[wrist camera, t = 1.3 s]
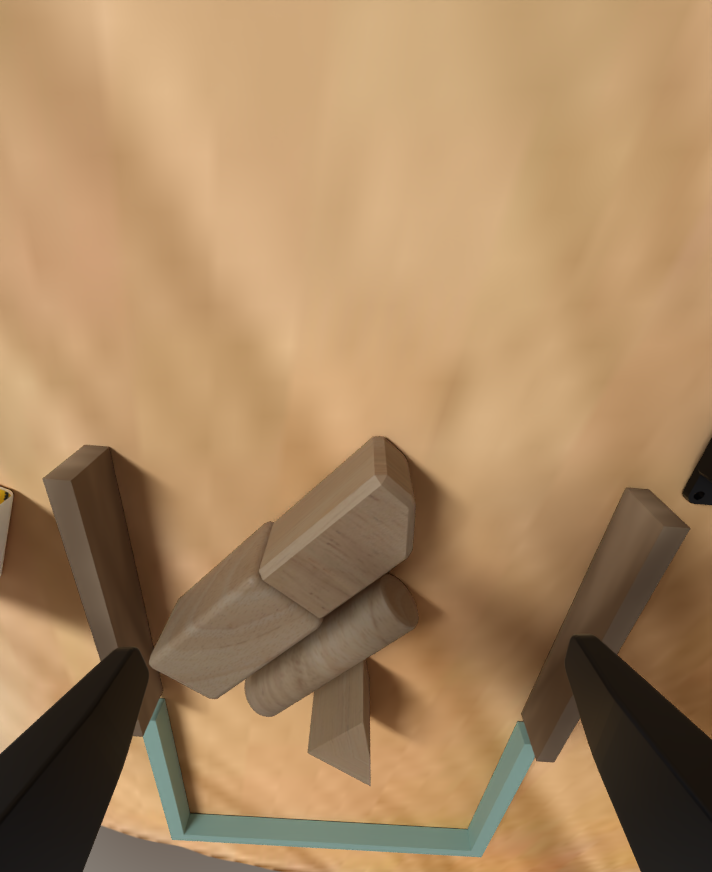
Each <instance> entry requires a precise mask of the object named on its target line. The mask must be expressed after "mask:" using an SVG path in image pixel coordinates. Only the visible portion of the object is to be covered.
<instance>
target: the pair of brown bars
mask: <svg viewBox="0 0 712 872" xmlns="http://www.w3.org/2000/svg"><path fill="white" fill-rule="evenodd" d="M43 482H44V485H45V488H46V491H47V494H48V497H49V501H50V504H51V507H52V510H53V513H54V516H55V519H56V523H57V526H58V529H59V532H60V535H61V538H62V541H63V544H64V548H65V551H66V554H67V557H68V560H69V563H70V566H71V570H72V573H73V576H74V579H75V582H76V585H77V588H78V591H79V595H80V598H81V601H82V604H83V607H84V610H85V613H86V617H87V620H88V623H89V626H90V629H91V632H92V635H93V638H94V642H95V645H96V648H97V651H98V654H99V657H100V660H101V661H102V660H103V659H104V658H105V657H106V656H107V655H109V654H110V653H111V652H112V651H113V650H115V649H116V648H118V647H137V648H139V650H140V652H141V654H142V656H143V658H144V661H145V663H146V665H147V667H148V670H149V681H148V685H147V688H146V692H145V695H144V699H143V702H142V705H141V709H140V712H139V716H138V719H137V723H136V726H135V730H134V733H133V736H139V737H143V736H144V733H145V731H146V729H147V726H148V724H149V722H150V719H151V717H152V715H153V712H154V710H155V708H156V705H157V703H158V701H159V698H160V696H161V694H162V691H163V689H162V684H161V680H160V675H159V671H157V670H155V669H153V668H152V667H151V666H150V665H149V660H150V656H151V654H152V652H153V650H154V648H153V643H152V639H151V634H150V630H149V625H148V621H147V616H146V612H145V607H144V603H143V598H142V594H141V589H140V585H139V580H138V576H137V571H136V567H135V562H134V558H133V553H132V548H131V544H130V539H129V535H128V530H127V526H126V521H125V517H124V512H123V508H122V503H121V499H120V494H119V490H118V485H117V481H116V476H115V472H114V467H113V463H112V458H111V454H110V449H109V447H103V446H90V445H84V446H83V447H81V448H80V449H79V450H78V451H76V452H75V453H74V454H73V455H71V456H70V457H69V458H68V459H66V460H65V461H64V462H63V463H61V464H60V465H59V466H58V467H56V468H55V469H54V470H53V471H51V472H50V473H49V474H48V475H46V476H45V477H44V478H43ZM689 530H690V528H689V527H688V526H687V525H686V524H685V523H684V522H683V521H682V520H681V519H680V518H679V517H678V516H677V515H676V514H675V513H673V512H672V511H671V510H670V509H669V508H668V507H667V506H666V505H665V504H664V503H663V502H662V501H661V500H660V499H659V498H657V497H656V496H655V495H654V494H653V493H652V492H651V491H650V490H648V489H636V488H626V489H625V491H624V493H623V495H622V497H621V499H620V502H619V504H618V506H617V508H616V510H615V512H614V515H613V517H612V519H611V521H610V523H609V525H608V527H607V530H606V532H605V534H604V536H603V538H602V540H601V543H600V545H599V547H598V549H597V551H596V553H595V556H594V558H593V560H592V562H591V564H590V566H589V568H588V571H587V573H586V575H585V577H584V579H583V581H582V584H581V586H580V588H579V590H578V592H577V594H576V597H575V599H574V601H573V603H572V605H571V607H570V609H569V612H568V614H567V616H566V618H565V620H564V622H563V625H562V627H561V629H560V631H559V633H558V635H557V638H556V640H555V642H554V644H553V646H552V648H551V650H550V653H549V655H548V657H547V659H546V661H545V663H544V666H543V668H542V670H541V672H540V674H539V676H538V679H537V681H536V683H535V685H534V687H533V689H532V691H531V694H530V696H529V698H528V700H527V702H526V704H525V707H524V709H523V711H522V713H521V715H522V718H523V721H524V724H525V727H526V730H527V733H528V737H529V740H530V743H531V746H532V749H533V752H534V755H535V758H536V761H540V762H555V760H556V758H557V757H558V755H559V753H560V751H561V750H562V748H563V746H564V745H565V743H566V741H567V739H568V738H569V736H570V734H571V733H572V731H573V729H574V727H575V726H576V724H577V722H578V721H579V719H580V715H579V712H578V709H577V706H576V703H575V699H574V696H573V693H572V690H571V687H570V684H569V680H568V677H567V674H566V671H565V665H564V660H565V655H566V652H567V648H568V644H569V641H570V638H571V636H572V635H573V634H593V635H595V636H596V637H598V638H599V639H600V640H601V641H602V642H603V643H604V644H606V645H607V646H608V647H609V648H610V649H611V650H612V651H613V652H615V653H616V654H618V652H619V650H620V648H621V647H622V645H623V643H624V642H625V640H626V638H627V636H628V635H629V633H630V631H631V630H632V628H633V626H634V624H635V623H636V621H637V619H638V618H639V616H640V614H641V612H642V611H643V609H644V607H645V605H646V604H647V602H648V600H649V599H650V597H651V595H652V593H653V592H654V590H655V588H656V587H657V585H658V583H659V581H660V580H661V578H662V576H663V575H664V573H665V571H666V569H667V568H668V566H669V564H670V563H671V561H672V559H673V557H674V556H675V554H676V552H677V551H678V549H679V547H680V545H681V544H682V542H683V540H684V539H685V537H686V535H687V533H688V532H689Z"/></svg>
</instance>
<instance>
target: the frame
mask: <svg viewBox="0 0 712 872" xmlns="http://www.w3.org/2000/svg"><path fill="white" fill-rule="evenodd" d="M143 739H144V742H145V746H146V749H147V753H148V756H149V760H150V764H151V767H152V771H153V774H154V778H155V781H156V785H157V788H158V792H159V795H160V799H161V803H162V806H163V810H164V813H165V817H166V820H167V824H168V827H169V831H170V834H171V838H172V840H186V841H204V842H222V843H239V844H257V845H275V846H292V847H310V848H328V849H345V850H363V851H381V852H398V853H416V854H434V855H451V856H469V857H482V855H483V853H484V851H485V849H486V847H487V846H488V844H489V842H490V840H491V838H492V836H493V834H494V833H495V831H496V829H497V827H498V825H499V823H500V821H501V819H502V818H503V816H504V814H505V812H506V810H507V808H508V806H509V805H510V803H511V801H512V799H513V797H514V795H515V793H516V791H517V790H518V788H519V786H520V784H521V782H522V780H523V778H524V776H525V775H526V773H527V771H528V769H529V767H530V765H531V763H532V762H533V760H534V758H535V755H534V752H533V749H532V746H531V743H530V740H529V737H528V733H527V730H526V727H525V724H524V722H517V724H516V726H515V728H514V730H513V732H512V735H511V737H510V739H509V741H508V743H507V745H506V748H505V750H504V752H503V754H502V756H501V758H500V760H499V763H498V765H497V767H496V769H495V771H494V773H493V776H492V778H491V780H490V782H489V784H488V786H487V789H486V791H485V793H484V795H483V797H482V799H481V801H480V804H479V806H478V808H477V810H476V812H475V814H474V817H473V819H472V821H471V823H470V825H469V827H468V829H450V828H433V827H416V826H399V825H382V824H364V823H347V822H330V821H313V820H296V819H279V818H261V817H244V816H227V815H210V814H193V813H190V811H189V806H188V802H187V797H186V793H185V788H184V784H183V779H182V775H181V770H180V765H179V761H178V756H177V752H176V747H175V743H174V738H173V734H172V729H171V725H170V720H169V716H168V711H167V707H166V702H165V699H163V698H159V701H158V703H157V705H156V708H155V710H154V712H153V715H152V717H151V719H150V722H149V724H148V726H147V729H146V731H145V733H144V736H143Z"/></svg>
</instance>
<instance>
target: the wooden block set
mask: <svg viewBox="0 0 712 872" xmlns="http://www.w3.org/2000/svg"><path fill="white" fill-rule="evenodd" d="M415 510H416V504H415V498H414V493H413V487H412V482H411V476H410V471H409V465H408V462H407V460H406V458H405V456H404V455H403V454H402V453H401V452H400V451H399V450H398V449H397V448H396V447H395V446H393V445H392V444H391V443H390V442H389V441H388V440H387V439H386V438H385V437H372V438H371V439H370V440H369V441H367V442H366V443H365V444H364V445H363V446H362V447H361V448H359V449H358V450H357V451H356V452H355V453H354V454H352V455H351V456H350V457H349V458H348V459H347V460H346V461H344V462H343V463H342V464H341V465H340V466H339V467H338V468H336V469H335V470H334V471H333V472H332V473H331V474H330V475H328V476H327V477H326V478H325V479H324V480H323V481H321V482H320V483H319V484H318V485H317V486H316V487H315V488H313V489H312V490H311V491H310V492H309V493H308V494H307V495H305V496H304V497H303V498H302V499H301V500H300V501H298V502H297V503H296V504H295V505H294V506H293V507H292V508H290V509H289V510H288V511H287V512H286V513H285V514H284V515H282V516H281V517H280V518H279V519H278V520H277V521H276V522H271V521H270V522H267V523H264V524H263V525H262V526H261V527H260V528H259V529H258V530H257V531H255V532H254V533H253V534H252V535H251V536H250V537H249V538H247V539H246V540H245V541H244V542H243V543H242V544H241V545H239V546H238V547H237V548H236V549H235V550H234V551H233V552H232V553H230V554H229V555H228V556H227V557H226V558H225V559H224V560H222V561H221V562H220V563H219V564H218V565H217V566H216V567H214V568H213V569H212V570H211V571H210V572H209V573H208V574H207V575H205V576H204V577H203V578H202V579H201V580H200V581H199V582H197V583H196V584H195V585H194V586H193V587H192V588H191V589H190V590H188V591H187V592H186V593H185V594H184V595H183V596H182V597H180V598H179V599H178V601H177V603H176V605H175V607H174V609H173V611H172V613H171V615H170V617H169V619H168V621H167V623H166V625H165V627H164V630H163V632H162V634H161V636H160V638H159V640H158V642H157V644H156V646H155V648H154V650H153V652H152V654H151V656H150V660H149V665H150V666H151V667H152V668H153V669H155V670H157V671H159V672H161V673H162V674H164V675H166V676H168V677H170V678H172V679H174V680H176V681H177V682H179V683H181V684H183V685H185V686H187V687H189V688H191V689H193V690H194V691H196V692H198V693H200V694H202V695H204V696H206V697H208V698H210V699H218V698H219V697H220V696H222V695H223V694H225V693H226V692H228V691H229V690H230V689H232V688H233V687H235V686H236V685H238V684H239V683H240V682H242V681H243V680H245V679H246V680H245V695H246V698H247V701H248V703H249V705H250V706H251V708H252V709H253V710H254V711H255V712H256V713H258V714H259V715H262V716H266V717H272V716H275V715H277V714H278V713H280V712H282V711H283V710H285V709H286V708H288V707H290V706H291V705H293V704H294V703H296V702H298V701H299V700H301V699H302V698H304V697H306V696H307V695H309V694H310V693H312V692H314V697H313V707H312V716H311V725H310V734H309V744H308V753H309V754H310V755H312V756H314V757H316V758H318V759H320V760H322V761H324V762H326V763H327V764H329V765H331V766H333V767H335V768H337V769H339V770H341V771H343V772H344V773H346V774H348V775H350V776H352V777H354V778H356V779H358V780H360V781H361V782H363V783H365V784H367V785H369V786H371V774H370V687H369V674H368V668H367V663H366V658H368V657H370V656H371V655H373V654H374V653H376V652H378V651H379V650H381V649H382V648H384V647H386V646H387V645H389V644H390V643H392V642H394V641H395V640H397V639H398V638H400V637H402V636H403V635H405V634H406V633H408V632H410V631H411V630H413V629H414V628H415V626H416V625H417V623H418V618H419V617H418V610H417V606H416V604H415V601H414V599H413V597H412V595H411V594H410V592H409V591H408V589H407V588H406V587H405V585H404V584H403V583H402V582H401V581H400V580H398V579H397V578H396V577H394V576H392V575H389V574H386V573H387V572H388V571H390V570H391V569H393V568H394V567H395V566H397V565H398V564H400V563H401V562H403V561H404V560H405V559H407V558H408V556H409V555H410V553H411V551H412V549H413V536H414V523H415ZM384 574H386V575H384Z"/></svg>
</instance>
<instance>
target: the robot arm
mask: <svg viewBox="0 0 712 872" xmlns="http://www.w3.org/2000/svg"><path fill="white" fill-rule="evenodd" d="M683 496H684V497H685V498H686V499H687V500H688V501H690V502H691V503H694V504H704V505H712V439H711V441H710V443H709V444H708V446H707V448H706V450H705V452H704V454H703V456H702V457H701V459H700V461H699V463H698V465H697V467H696V468H695V470H694V472H693V474H692V476H691V478H690V479H689V481H688V483H687V485H686V487H685V489H684V491H683ZM564 665H565V671H566V674H567V677H568V680H569V684H570V687H571V690H572V693H573V696H574V699H575V703H576V706H577V709H578V712H579V715H580V718H581V721H582V725H583V728H584V731H585V734H586V737H587V740H588V744H589V746H590V749H591V752H592V755H593V758H594V760H595V763H596V766H597V768H598V771H599V773H600V775H601V778H602V780H603V783H604V785H605V787H606V790H607V792H608V794H609V797H610V799H611V802H612V804H613V806H614V809H615V811H616V813H617V816H618V818H619V821H620V823H621V825H622V828H623V830H624V832H625V835H626V837H627V840H628V842H629V844H630V847H631V849H632V852H633V854H634V856H635V859H636V861H637V863H638V866H639V868H640V871H641V872H712V739H710V738H709V737H708V736H707V735H706V734H705V733H704V732H703V731H702V730H700V729H699V728H698V727H697V726H696V725H695V724H694V723H693V722H691V721H690V720H689V719H688V718H687V717H686V716H685V715H684V714H683V713H681V712H680V711H679V710H678V709H677V708H676V707H675V706H674V705H673V704H671V703H670V702H669V701H668V700H667V699H666V698H665V697H664V696H662V695H661V694H660V693H659V692H658V691H657V690H656V689H655V688H654V687H652V686H651V685H650V684H649V683H648V682H647V681H646V680H645V679H644V678H642V677H641V676H640V675H639V674H638V673H637V672H636V671H635V670H633V669H632V668H631V667H630V666H629V665H628V664H627V663H626V662H625V661H623V660H622V659H621V658H620V657H619V656H618V655H617V654H616V653H615V652H613V651H612V650H611V649H610V648H609V647H608V646H607V645H606V644H604V643H603V642H602V641H601V640H600V639H599V638H598V637H596V636H595V635H593V634H573V635H572V636H571V638H570V641H569V644H568V648H567V652H566V655H565V660H564ZM148 681H149V670H148V667H147V665H146V663H145V661H144V658H143V656H142V654H141V652H140V650H139V648H137V647H118V648H116V649H115V650H113V651H112V652H111V653H110V654H109V655H107V656H106V657H105V658H104V659H103V660H102V661H101V662H100V663H99V664H98V665H97V666H95V667H94V668H93V669H92V670H91V671H90V672H89V673H88V674H87V675H86V676H85V677H83V678H82V679H81V680H80V681H79V682H78V683H77V684H76V685H75V686H74V687H73V688H71V689H70V690H69V691H68V692H67V693H66V694H65V695H64V696H63V697H62V698H61V699H60V700H58V701H57V702H56V703H55V704H54V705H53V706H52V707H51V708H50V709H49V710H48V711H46V712H45V713H44V714H43V715H42V716H41V717H40V718H39V719H38V720H37V721H36V722H34V723H33V724H32V725H31V726H30V727H29V728H28V729H27V730H26V731H25V732H24V733H22V734H21V735H20V736H19V737H18V738H17V739H16V740H15V741H14V742H13V743H12V744H11V745H9V746H8V747H7V748H6V749H5V750H4V751H3V752H2V753H1V754H0V872H83V870H84V867H85V864H86V862H87V859H88V857H89V854H90V851H91V849H92V846H93V844H94V841H95V839H96V836H97V833H98V831H99V828H100V826H101V823H102V821H103V818H104V816H105V813H106V810H107V808H108V805H109V803H110V800H111V798H112V795H113V792H114V790H115V787H116V785H117V782H118V779H119V777H120V774H121V771H122V769H123V766H124V763H125V760H126V757H127V753H128V750H129V747H130V743H131V740H132V736H133V733H134V730H135V726H136V723H137V719H138V716H139V712H140V709H141V705H142V702H143V699H144V695H145V692H146V688H147V685H148Z"/></svg>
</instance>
